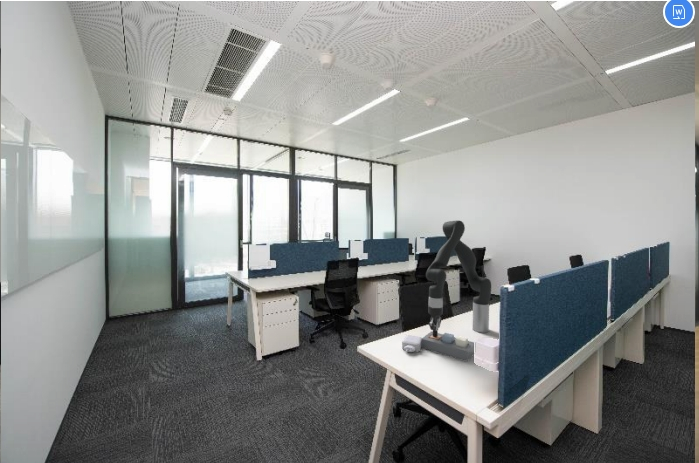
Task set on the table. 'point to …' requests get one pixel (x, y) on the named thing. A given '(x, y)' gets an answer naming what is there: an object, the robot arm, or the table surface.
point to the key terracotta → (435, 337)
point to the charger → (411, 343)
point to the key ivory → (462, 341)
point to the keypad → (448, 347)
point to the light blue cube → (448, 338)
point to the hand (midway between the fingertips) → (435, 336)
